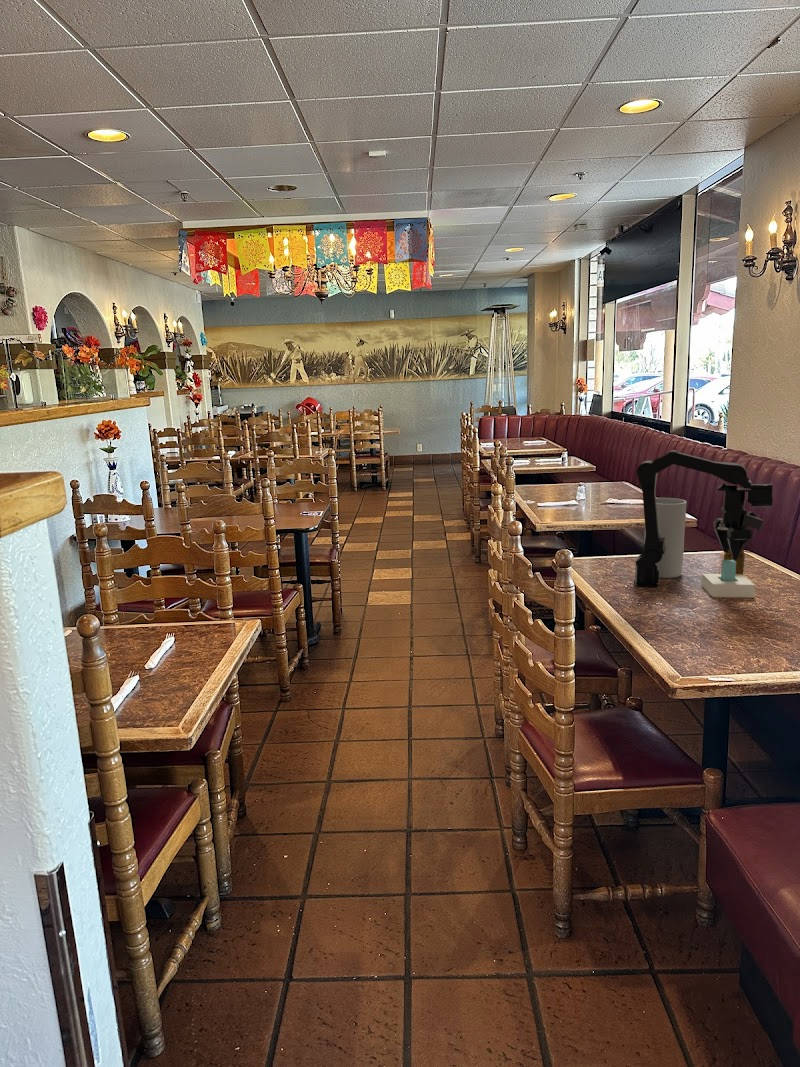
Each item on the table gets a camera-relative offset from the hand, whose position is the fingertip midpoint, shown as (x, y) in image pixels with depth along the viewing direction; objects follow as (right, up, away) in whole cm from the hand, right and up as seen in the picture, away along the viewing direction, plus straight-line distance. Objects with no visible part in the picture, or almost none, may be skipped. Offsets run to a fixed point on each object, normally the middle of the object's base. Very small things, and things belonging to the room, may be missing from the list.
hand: (730, 555), depth 224 cm
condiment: (+8, -9, +13) cm, 18 cm away
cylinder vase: (-12, -7, +24) cm, 28 cm away
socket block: (0, -11, +2) cm, 11 cm away
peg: (0, -10, +2) cm, 11 cm away
